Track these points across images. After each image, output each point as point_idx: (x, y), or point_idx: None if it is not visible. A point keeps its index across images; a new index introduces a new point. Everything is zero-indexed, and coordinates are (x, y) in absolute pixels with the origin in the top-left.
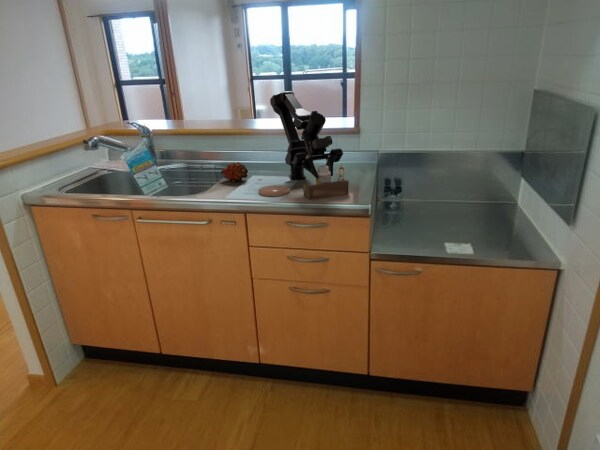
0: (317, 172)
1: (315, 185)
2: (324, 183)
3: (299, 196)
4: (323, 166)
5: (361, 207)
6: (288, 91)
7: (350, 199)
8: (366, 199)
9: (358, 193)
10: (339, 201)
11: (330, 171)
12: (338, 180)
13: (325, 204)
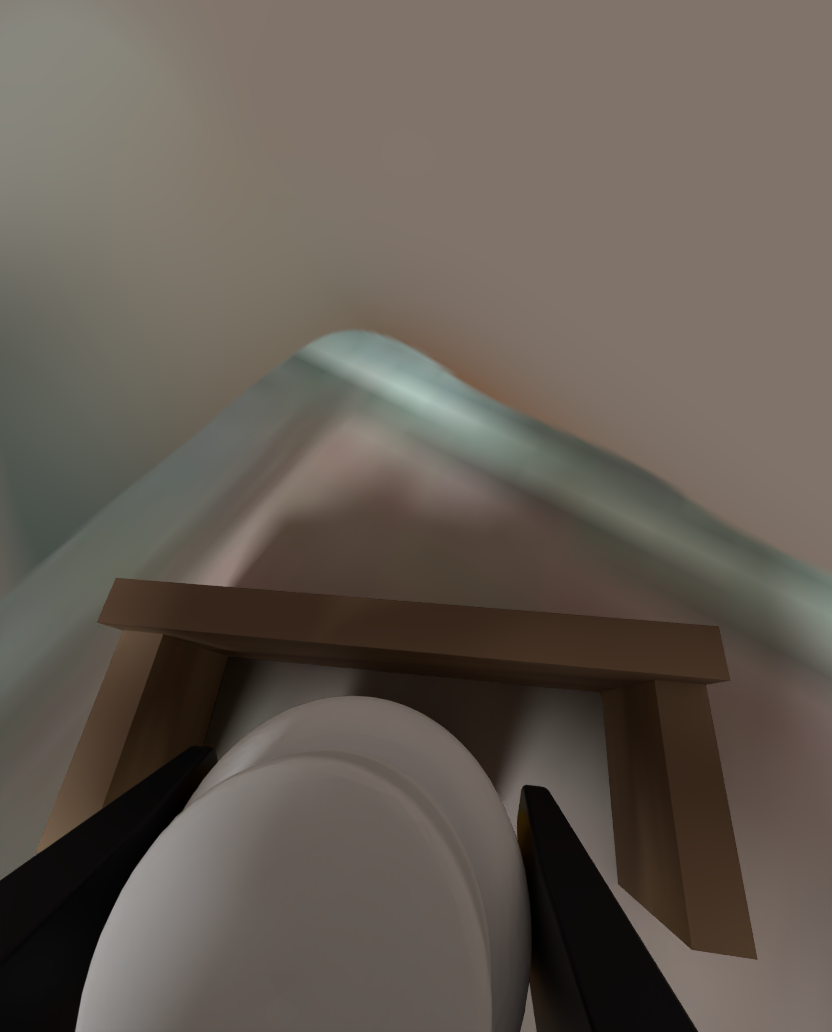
0: (505, 948)
1: (619, 625)
2: (453, 646)
3: None
4: (255, 1014)
5: (355, 331)
6: None
7: (304, 482)
8: (214, 428)
9: None
10: (406, 484)
11: None
12: None
13: (543, 478)
